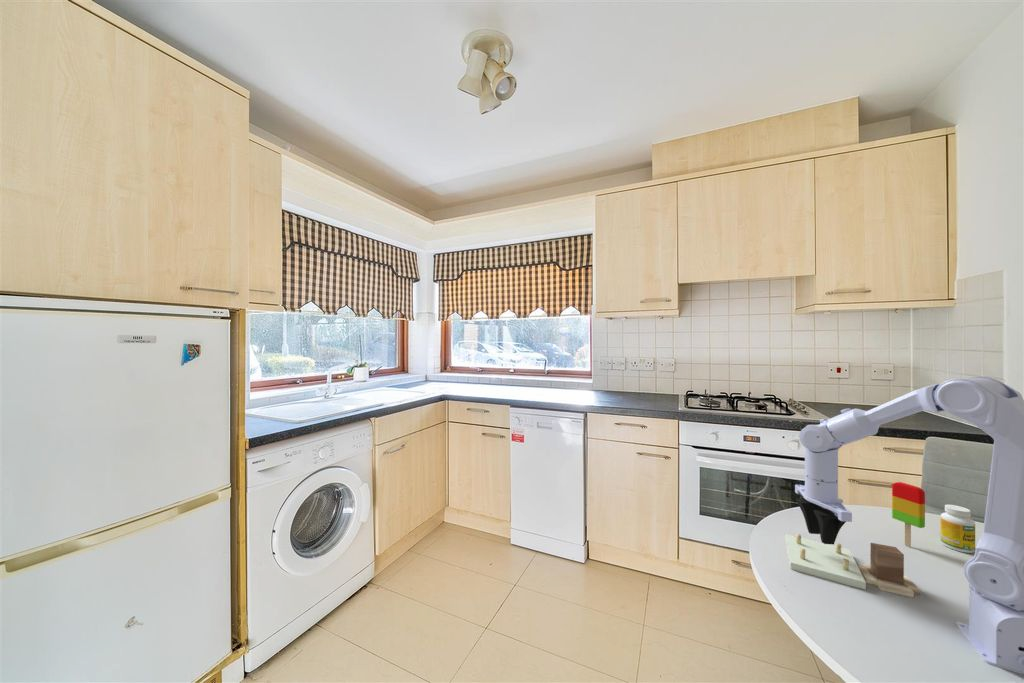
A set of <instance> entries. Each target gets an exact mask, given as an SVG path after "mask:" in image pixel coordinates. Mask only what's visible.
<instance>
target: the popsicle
mask: <svg viewBox="0 0 1024 683" xmlns="http://www.w3.org/2000/svg"><path fill="white" fill-rule="evenodd" d="M891 498H892V499H891V518H892V519H895V520H897V521H900V522H903V523H904V546H906V547H908V548H910V547H911V546H912V539H911V538H912V530H911V529H912V526H914V527H915V528H916V527H917V528H919V529H923V528H925V527H926V492H925V491H924V489H923V488H921V487H918V486H915V485H913V484H908V483H905V482H903V481H902V482H901V481H898V482H897V481H895V482H894V483H892V486H891Z"/></svg>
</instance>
